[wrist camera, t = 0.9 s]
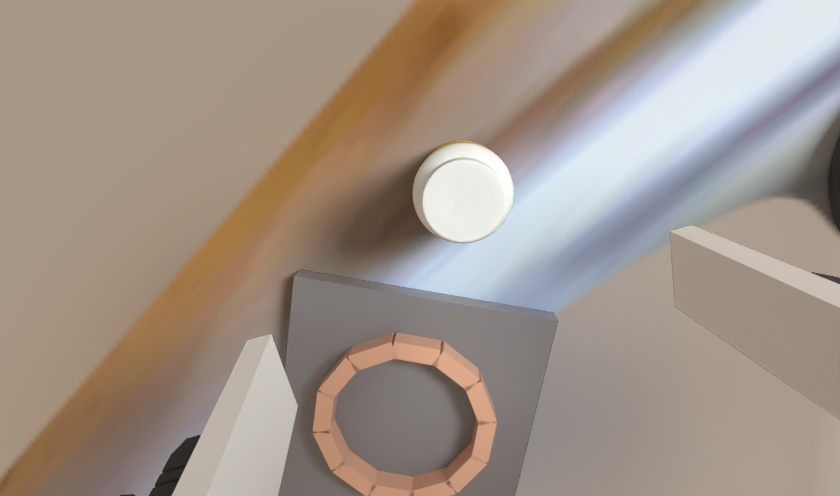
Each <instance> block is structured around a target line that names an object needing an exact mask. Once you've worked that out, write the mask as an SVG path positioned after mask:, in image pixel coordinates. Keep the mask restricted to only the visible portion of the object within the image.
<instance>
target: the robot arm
mask: <svg viewBox="0 0 840 496" xmlns="http://www.w3.org/2000/svg"><path fill="white" fill-rule="evenodd" d="M829 191H830V201H831V207H832V211H833V215H834V218H835V221H836V224H837V226H838V228H839V230H840V139H839V141H838V144H837V147H836V150H835V153H834V156H833V160H832V165H831V171H830V185H829ZM670 244H671V258H672V271H673V285H674V298H675V307H676V308H678V309H679V310H681V311H682V312H683V313H685V314H686V315H688V316H689V317H691V318H692V319H694V320H695V321H696V322H698V323H699V324H701V325H702V326H704V327H705V328H707V329H708V330H710V331H711V332H712V333H714V334H715V335H717V336H718V337H720V338H721V339H723V340H724V341H726V342H727V343H728V344H730V345H731V346H733V347H734V348H736V349H737V350H739V351H740V352H741V353H743V354H744V355H746V356H748V357H749V358H750V359H752V360H753V361H755V362H756V363H758V364H759V365H760V366H762V367H763V368H765V369H766V370H768V371H769V372H770V373H772V374H774V375H775V376H776V377H778V378H779V379H781V380H782V381H784V382H785V383H787V384H788V385H789V386H791V387H792V388H794V389H795V390H797V391H798V392H800V393H801V394H802V395H804V396H805V397H807V398H808V399H810V400H811V401H813V402H814V403H815V404H817V405H818V406H820V407H822V408H823V409H824V410H826V411H827V412H828V413H830V414H831V415H833V416H834V417H836V418H837V419H839V420H840V278H838V277H833V276H828V275H823V274H818V273H813V272H812V273H810V272H807V271H805V270H803V269H800V268H798V267H795V266H793V265H790V264H788V263H785V262H783V261H780V260H778V259H775V258H772V257H770V256H768V255H765V254H763V253H760V252H758V251H755V250H753V249H750V248H748V247H746V246H743V245H740V244H738V243H735V242H733V241H730V240H728V239H726V238H723V237H720V236H718V235H716V234H713V233H711V232H708V231H706V230H703V229H701V228H698V227H696V226H693V225H691V226H687V227H683V228H679V229H675V230H671V231H670ZM297 408H298V405H297V403H296V400H295V397H294V394H293V392H292V389H291V386H290V384H289V381H288V378H287V376H286V373H285V370H284V367H283V365H282V362H281V359H280V357H279V354H278V351H277V349H276V346H275V343H274V341H273V338H272V335H271V334H269V335H265V336H262V337H258V338H254V339H250V340H247V342H246V344H245V346H244V348H243V350H242V352H241V354H240V356H239V358H238V360H237V362H236V364H235V366H234V369H233V371H232V373H231V375H230V377H229V379H228V381H227V383H226V385H225V387H224V389H223V391H222V393H221V395H220V397H219V399H218V401H217V403H216V406H215V408H214V410H213V412H212V414H211V416H210V418H209V420H208V422H207V424H206V426H205V428H204V430H203V432H202V434H201V435H198V436H194V437H191V438H187V439H186V440H185V441H184V442H183V443H182V444H181V445H180V446H179V447H178V448H177V449H176V450H175V451H174V452H173V453H172V454H171V456H170V458H169V460H168V462H167V463H166V465H165V467H164V469H163V471H162V472H163V474H160V476H159V478H158V480H157V482H156V484H155V488H153V489H152V491H151V493H150V495H149V496H278V493H279V489H280V484H281V480H282V475H283V471H284V466H285V462H286V457H287V453H288V448H289V444H290V439H291V435H292V430H293V426H294V421H295V417H296V412H297ZM120 496H135V495H133V494H129V495H120Z"/></svg>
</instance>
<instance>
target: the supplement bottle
mask: <svg viewBox="0 0 840 496" xmlns="http://www.w3.org/2000/svg"><path fill="white" fill-rule="evenodd" d="M513 195H514V189H513V182H512V178H511V175H510V173H509V171H508V169H507V167H506V165H505V164H504V163H503V161H502V160H501V159H500V158H499V157H498V156H497V155H496V154H495V153H493V152H492V151H490V150H489V149H487V148H486V147H484V146H482V145H480V144H478V143H475V142H472V141H466V140H458V141H452V142H448V143H445V144H443V145H441V146H439V147H438V148H436V149H435V150H434V151H433V152H432V153H431V154H430V155H429V156H428V157H427V159H426V160H425V161H424V162H423V164H422V165H421V166H420V168H419V170H418V172H417V174H416V177H415V180H414V184H413V203H414V207H415V210H416V213H417V215H418V217H419V219H420V220H421V222H422V223H423V225H424V226H425V227H426V228H427V229H428V230H429V231H430V232H431V233H433V234H434V235H436V236H437V237H439V238H441V239H444V240H446V241H450V242H454V243H471V242H476V241H479V240H482V239H484V238H486V237H488V236H490V235H491V234H493V233H494V232H495V231H496V230H497V229H498V228H499V227H500V226H501V225H502V224H503V223H504V221H505V220H506V218H507V216H508V214H509V212H510V210H511V207H512V203H513Z"/></svg>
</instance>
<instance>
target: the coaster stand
mask: <svg viewBox="0 0 840 496" xmlns="http://www.w3.org/2000/svg"><path fill="white" fill-rule="evenodd" d="M557 323H558V320H557V318H556V316H555V315H554V313H552V312H546V311H540V310H534V309H529V308H523V307H517V306H511V305H505V304H499V303H493V302H488V301H482V300H476V299H470V298H464V297H458V296H452V295H447V294H441V293H435V292H429V291H423V290H417V289H411V288H406V287H400V286H394V285H388V284H382V283H376V282H370V281H365V280H359V279H353V278H347V277H341V276H335V275H329V274H324V273H318V272H312V271H306V270H300V271H298V272H297V273H296V274H295V275H294V280H293V290H292V300H291V311H290V321H289V331H288V341H287V351H286V362H285V373H286V376H287V378H288V381H289V384H290V386H291V389H292V392H293V394H294V397H295V400H296V403H297V405H298V408H297V412H296V417H295V421H294V426H293V430H292V435H291V439H290V444H289V448H288V453H287V457H286V462H285V466H284V471H283V475H282V480H281V484H280V489H279V493H278V496H515V494H516V490H517V485H518V481H519V477H520V473H521V469H522V465H523V461H524V457H525V453H526V449H527V445H528V441H529V437H530V433H531V429H532V425H533V421H534V416H535V412H536V408H537V404H538V400H539V396H540V392H541V388H542V384H543V380H544V376H545V372H546V367H547V364H548V359H549V356H550V352H551V347H552V343H553V339H554V335H555V331H556V327H557Z"/></svg>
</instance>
